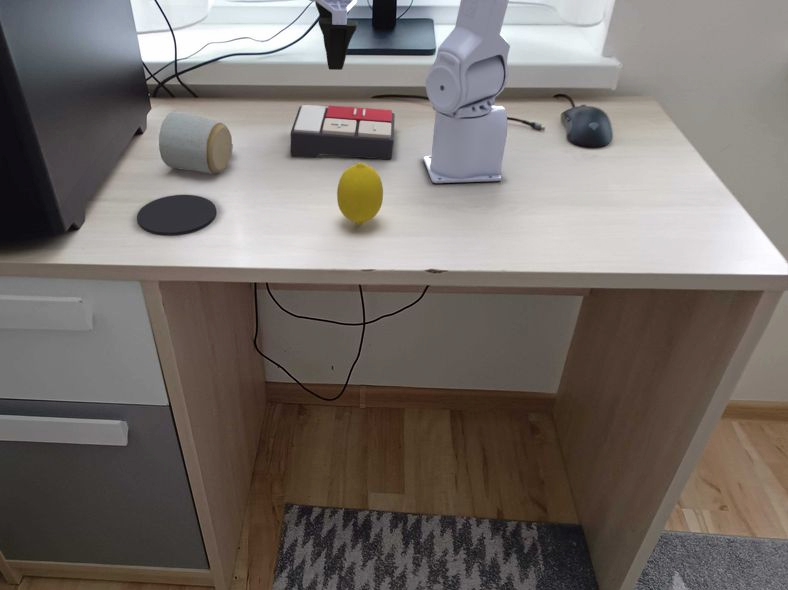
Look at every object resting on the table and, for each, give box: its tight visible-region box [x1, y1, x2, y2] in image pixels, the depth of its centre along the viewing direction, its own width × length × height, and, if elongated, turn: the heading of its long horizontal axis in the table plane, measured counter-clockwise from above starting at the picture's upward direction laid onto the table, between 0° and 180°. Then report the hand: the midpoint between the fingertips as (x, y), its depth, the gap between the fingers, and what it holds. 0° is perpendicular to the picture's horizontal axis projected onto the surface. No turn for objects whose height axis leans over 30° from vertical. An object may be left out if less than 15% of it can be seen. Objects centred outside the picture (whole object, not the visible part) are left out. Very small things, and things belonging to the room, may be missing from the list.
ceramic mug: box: [158, 110, 234, 174], centre depth 92 cm, size 11×8×8 cm
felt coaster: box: [136, 194, 217, 236], centre depth 83 cm, size 10×10×1 cm
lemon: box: [336, 161, 384, 226], centre depth 78 cm, size 6×6×8 cm
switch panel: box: [290, 104, 396, 160], centre depth 98 cm, size 11×4×15 cm
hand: (333, 59), depth 102 cm, fingers open, 7 cm apart
